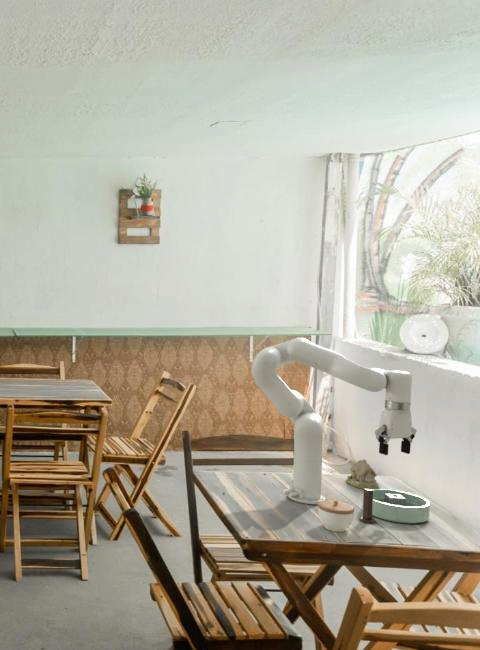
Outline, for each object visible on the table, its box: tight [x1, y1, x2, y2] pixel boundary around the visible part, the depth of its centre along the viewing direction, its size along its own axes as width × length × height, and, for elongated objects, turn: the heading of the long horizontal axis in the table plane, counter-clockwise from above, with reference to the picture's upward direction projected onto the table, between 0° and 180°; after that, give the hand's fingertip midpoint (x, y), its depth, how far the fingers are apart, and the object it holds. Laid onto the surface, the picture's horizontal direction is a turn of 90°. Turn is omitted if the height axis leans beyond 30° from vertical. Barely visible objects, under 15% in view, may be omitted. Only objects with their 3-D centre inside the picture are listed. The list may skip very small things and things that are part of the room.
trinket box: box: [317, 499, 355, 533], centre depth 223 cm, size 11×11×9 cm
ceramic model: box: [346, 459, 380, 490], centre depth 271 cm, size 14×11×10 cm
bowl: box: [362, 488, 431, 524], centre depth 237 cm, size 20×20×6 cm
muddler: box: [359, 489, 376, 524], centre depth 230 cm, size 4×4×11 cm
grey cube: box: [384, 493, 406, 507], centre depth 239 cm, size 5×5×5 cm
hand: (394, 453), depth 238 cm, fingers open, 9 cm apart
